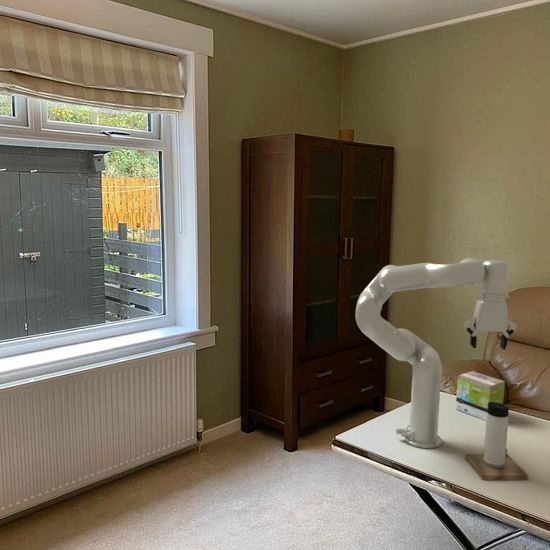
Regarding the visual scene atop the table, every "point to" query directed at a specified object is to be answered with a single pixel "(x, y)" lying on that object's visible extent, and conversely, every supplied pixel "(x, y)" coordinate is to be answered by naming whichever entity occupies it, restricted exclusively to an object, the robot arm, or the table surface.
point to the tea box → (478, 393)
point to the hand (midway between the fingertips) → (488, 347)
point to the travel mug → (496, 435)
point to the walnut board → (488, 473)
